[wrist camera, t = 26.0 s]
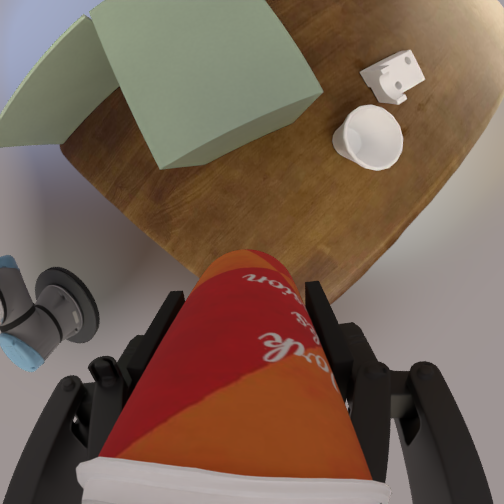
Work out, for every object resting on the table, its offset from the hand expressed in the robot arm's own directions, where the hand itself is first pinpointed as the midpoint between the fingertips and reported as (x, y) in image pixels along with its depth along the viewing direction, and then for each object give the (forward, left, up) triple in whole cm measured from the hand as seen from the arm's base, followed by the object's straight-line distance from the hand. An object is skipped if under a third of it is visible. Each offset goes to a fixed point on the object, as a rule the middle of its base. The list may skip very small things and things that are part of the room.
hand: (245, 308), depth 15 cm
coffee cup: (0, 0, -2) cm, 2 cm away
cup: (+19, +11, -37) cm, 43 cm away
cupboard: (-4, +24, -37) cm, 44 cm away
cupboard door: (-31, +29, -37) cm, 56 cm away
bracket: (+31, +25, -37) cm, 54 cm away
